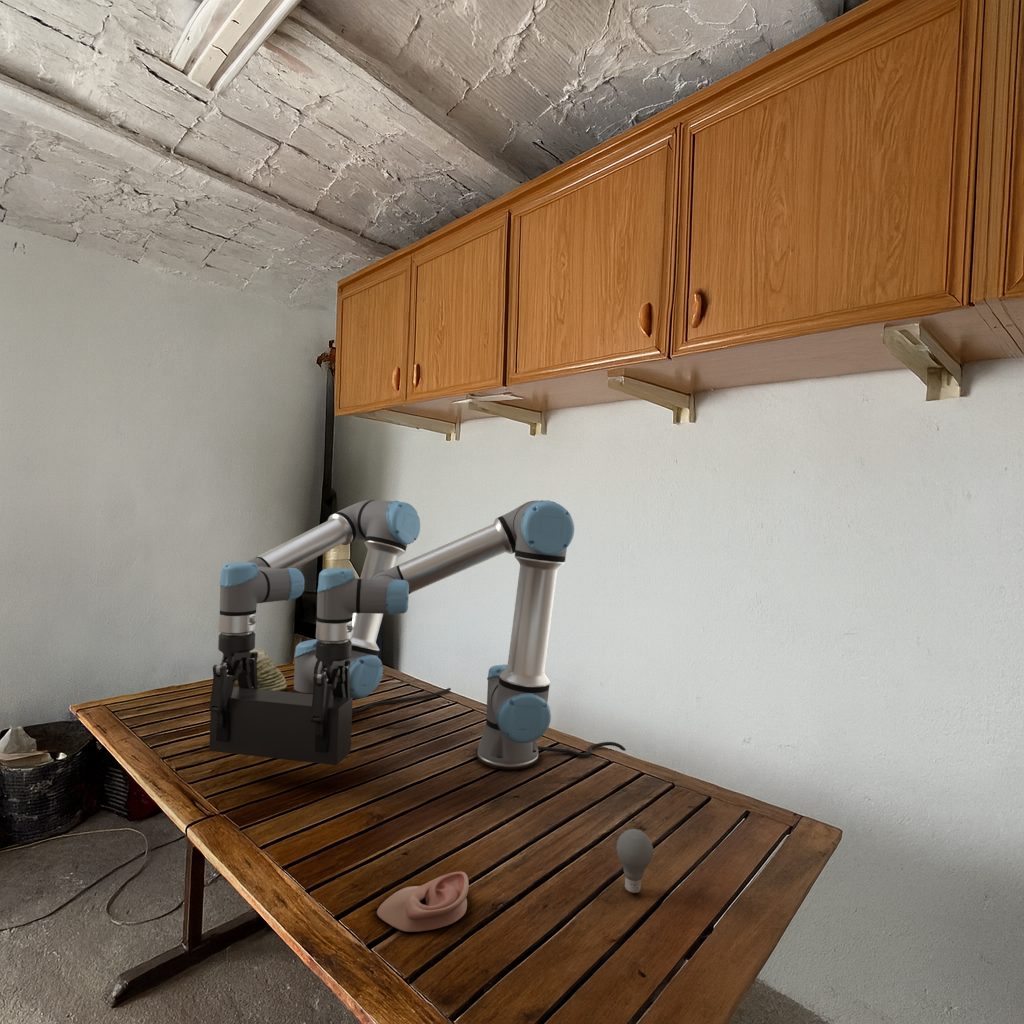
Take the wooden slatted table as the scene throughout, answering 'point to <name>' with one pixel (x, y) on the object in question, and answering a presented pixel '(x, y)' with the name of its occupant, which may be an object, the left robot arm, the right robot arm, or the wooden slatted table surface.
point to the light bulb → (634, 857)
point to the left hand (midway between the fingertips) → (233, 734)
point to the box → (282, 726)
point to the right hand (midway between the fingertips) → (329, 744)
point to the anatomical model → (427, 904)
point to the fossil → (267, 673)
